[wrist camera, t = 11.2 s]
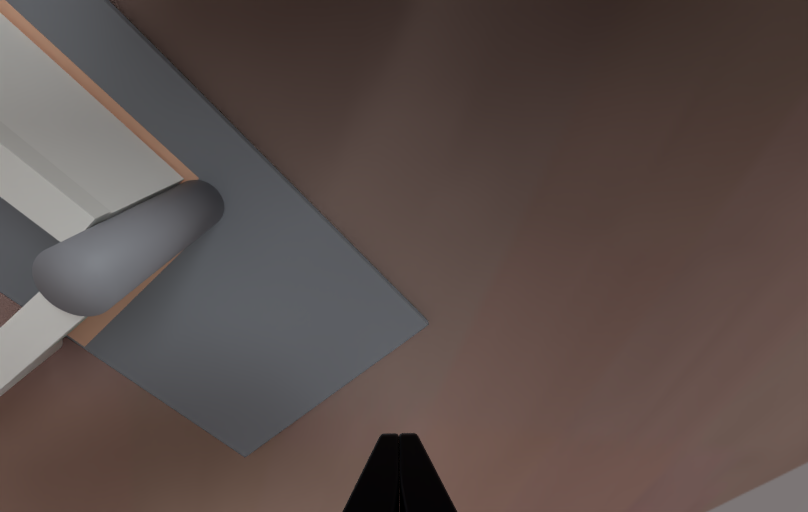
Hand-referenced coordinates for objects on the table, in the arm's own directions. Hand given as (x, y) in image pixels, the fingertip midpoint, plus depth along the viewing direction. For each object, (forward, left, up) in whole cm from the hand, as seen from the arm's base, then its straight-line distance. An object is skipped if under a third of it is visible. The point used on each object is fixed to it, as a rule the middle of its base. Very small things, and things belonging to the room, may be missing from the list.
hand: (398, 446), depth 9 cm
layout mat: (+10, -8, -13) cm, 18 cm away
